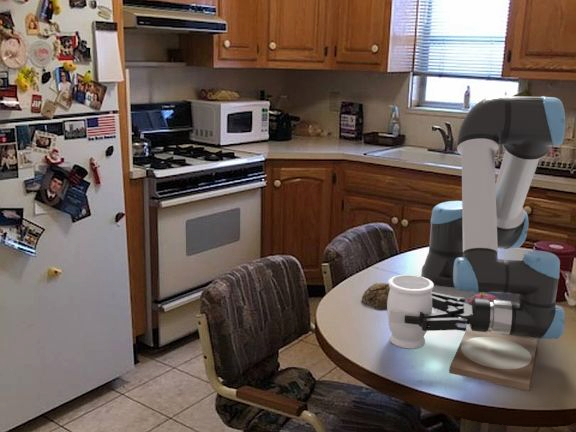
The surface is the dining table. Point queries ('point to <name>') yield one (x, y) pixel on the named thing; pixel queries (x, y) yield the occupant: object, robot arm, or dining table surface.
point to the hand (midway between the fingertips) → (391, 306)
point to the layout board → (495, 358)
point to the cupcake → (483, 297)
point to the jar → (409, 308)
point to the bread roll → (377, 296)
